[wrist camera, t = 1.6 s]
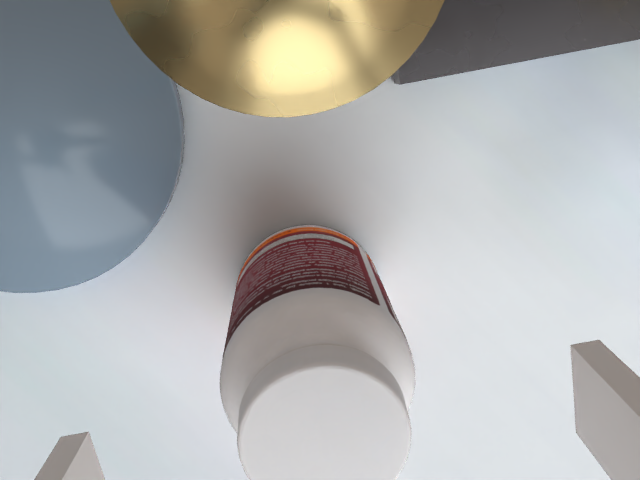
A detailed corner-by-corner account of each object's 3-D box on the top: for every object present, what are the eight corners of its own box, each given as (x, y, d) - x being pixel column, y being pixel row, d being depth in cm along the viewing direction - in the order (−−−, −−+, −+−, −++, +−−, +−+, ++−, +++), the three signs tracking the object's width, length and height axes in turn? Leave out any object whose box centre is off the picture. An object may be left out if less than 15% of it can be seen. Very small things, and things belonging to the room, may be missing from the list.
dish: (-83, 308, 26) (-100, 319, 24) (-217, -17, 22) (-244, -22, 21) (217, 251, 26) (213, 260, 24) (135, -84, 22) (127, -91, 21)
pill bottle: (207, 296, 26) (155, 455, 16) (301, 191, 25) (314, 287, 15) (313, 378, 28) (331, 574, 17) (407, 283, 27) (487, 429, 16)
